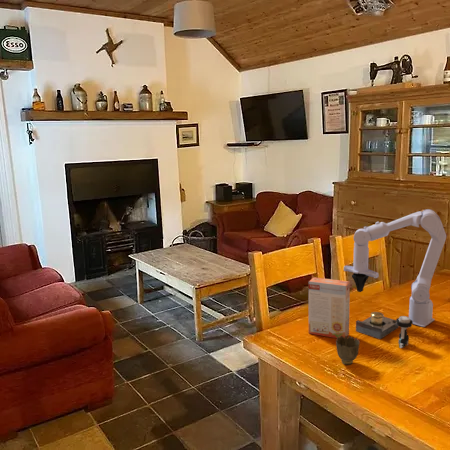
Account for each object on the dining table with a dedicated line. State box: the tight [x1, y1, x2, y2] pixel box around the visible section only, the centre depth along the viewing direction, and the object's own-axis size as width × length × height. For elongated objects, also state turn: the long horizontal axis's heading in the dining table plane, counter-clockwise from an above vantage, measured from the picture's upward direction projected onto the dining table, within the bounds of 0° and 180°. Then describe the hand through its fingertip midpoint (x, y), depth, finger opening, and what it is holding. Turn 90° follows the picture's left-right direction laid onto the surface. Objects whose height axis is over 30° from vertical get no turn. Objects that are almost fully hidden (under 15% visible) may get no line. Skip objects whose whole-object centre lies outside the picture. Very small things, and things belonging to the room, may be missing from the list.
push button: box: [395, 315, 413, 349], centre depth 158 cm, size 7×5×10 cm
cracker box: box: [308, 276, 351, 339], centre depth 168 cm, size 14×6×21 cm, turn 61°
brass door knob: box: [370, 311, 385, 326], centre depth 172 cm, size 5×5×6 cm
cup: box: [335, 335, 361, 366], centre depth 148 cm, size 8×7×8 cm
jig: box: [355, 315, 400, 340], centre depth 172 cm, size 14×10×4 cm
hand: (360, 291), depth 184 cm, fingers closed
